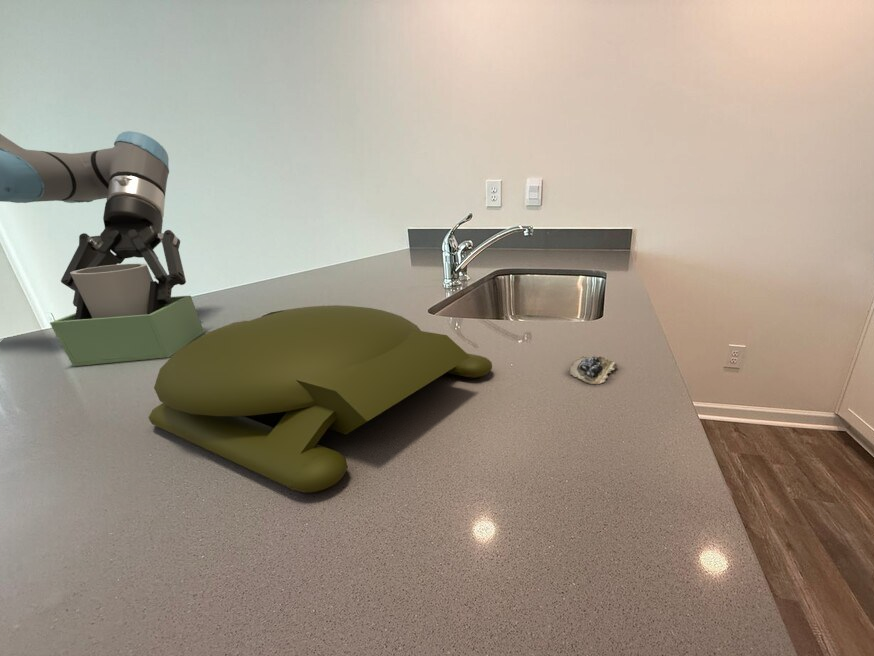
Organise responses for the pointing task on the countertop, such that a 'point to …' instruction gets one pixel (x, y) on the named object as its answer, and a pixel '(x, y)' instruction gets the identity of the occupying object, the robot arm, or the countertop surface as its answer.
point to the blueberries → (592, 369)
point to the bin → (129, 334)
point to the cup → (114, 289)
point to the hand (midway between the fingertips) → (120, 322)
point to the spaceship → (299, 385)
